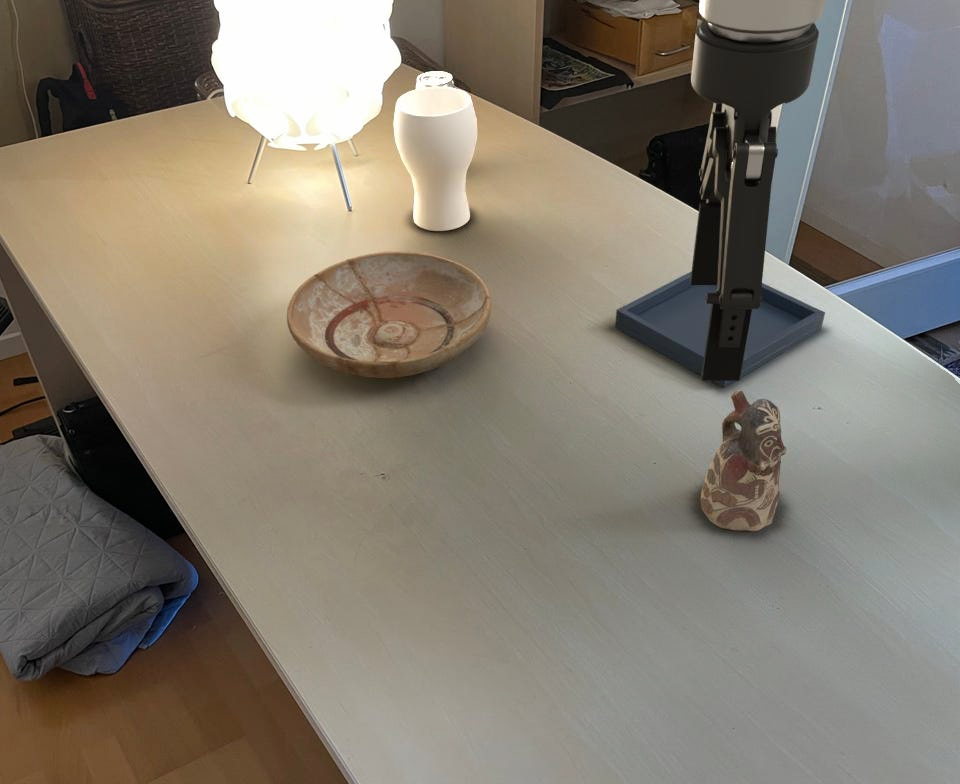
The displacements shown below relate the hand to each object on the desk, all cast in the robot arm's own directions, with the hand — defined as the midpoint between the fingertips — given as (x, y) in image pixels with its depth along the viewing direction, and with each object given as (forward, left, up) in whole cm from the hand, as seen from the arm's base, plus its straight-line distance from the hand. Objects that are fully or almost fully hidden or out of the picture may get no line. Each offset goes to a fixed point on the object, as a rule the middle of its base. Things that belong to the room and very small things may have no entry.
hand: (713, 328), depth 77 cm
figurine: (-2, -6, -21) cm, 22 cm away
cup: (+64, -22, -21) cm, 71 cm away
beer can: (+77, -32, -21) cm, 86 cm away
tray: (+20, -28, -21) cm, 40 cm away
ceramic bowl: (+44, +1, -21) cm, 49 cm away
